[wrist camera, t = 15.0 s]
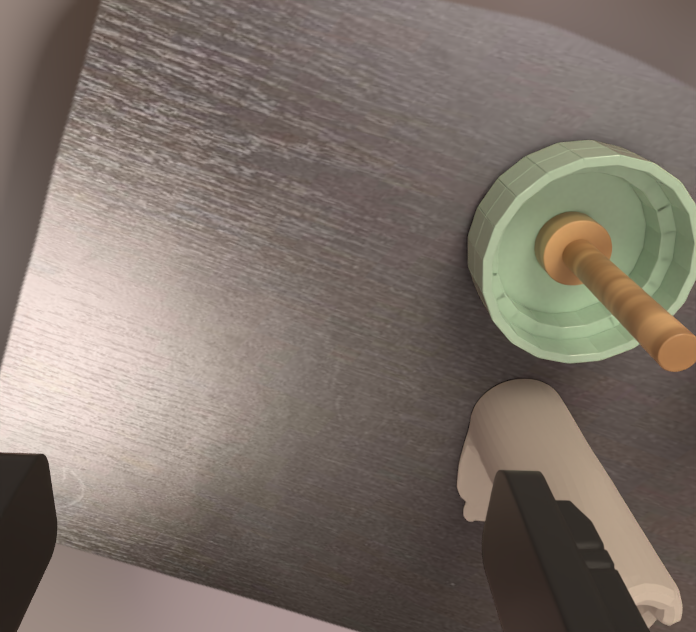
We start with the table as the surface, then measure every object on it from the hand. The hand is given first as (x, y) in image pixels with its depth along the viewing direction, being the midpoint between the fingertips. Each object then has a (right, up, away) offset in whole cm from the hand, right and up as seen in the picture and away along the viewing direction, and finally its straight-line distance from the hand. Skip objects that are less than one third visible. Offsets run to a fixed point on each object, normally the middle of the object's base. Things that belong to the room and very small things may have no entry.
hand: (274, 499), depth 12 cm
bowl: (+16, +8, +32) cm, 37 cm away
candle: (+14, -7, +40) cm, 43 cm away
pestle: (+16, +8, +32) cm, 36 cm away
